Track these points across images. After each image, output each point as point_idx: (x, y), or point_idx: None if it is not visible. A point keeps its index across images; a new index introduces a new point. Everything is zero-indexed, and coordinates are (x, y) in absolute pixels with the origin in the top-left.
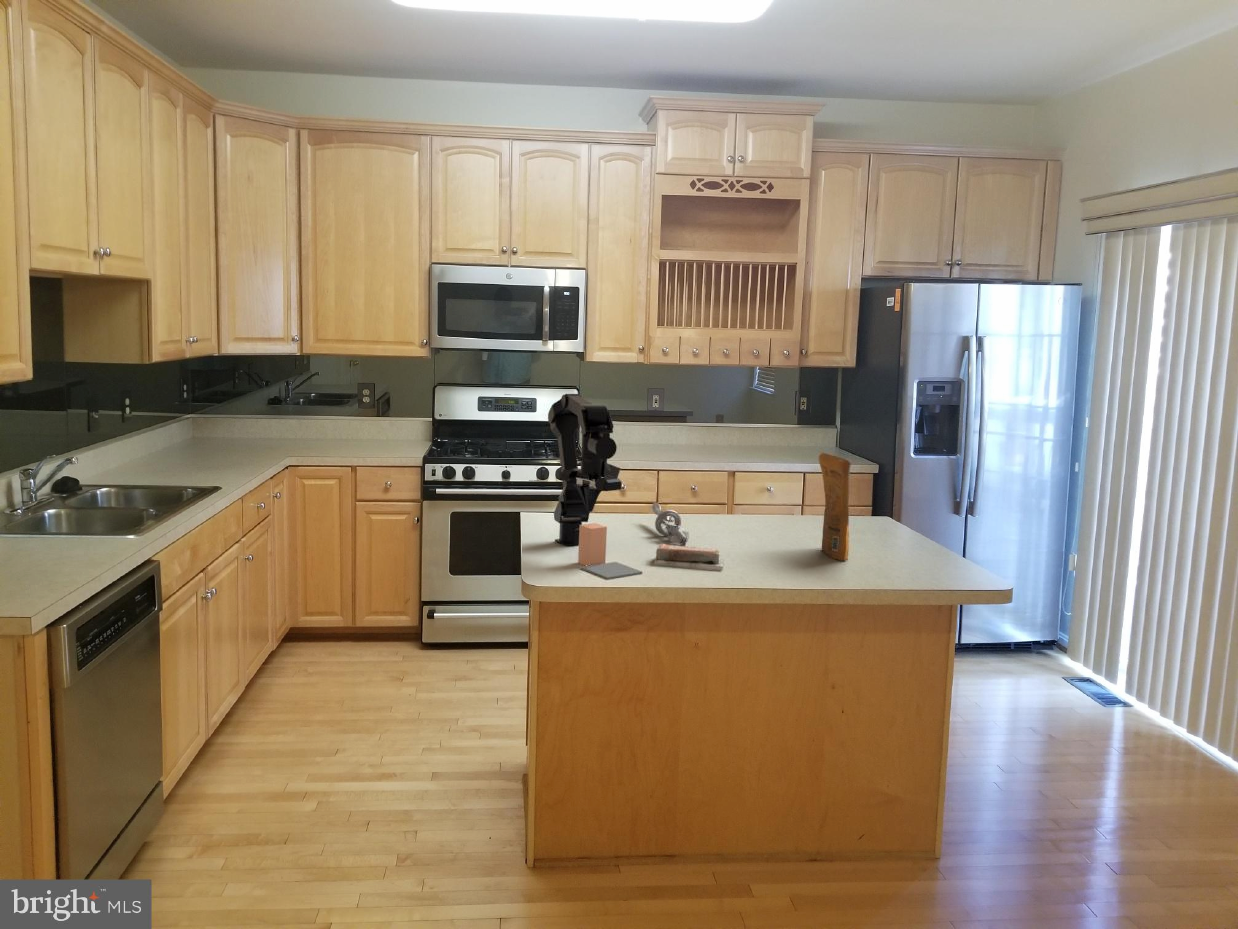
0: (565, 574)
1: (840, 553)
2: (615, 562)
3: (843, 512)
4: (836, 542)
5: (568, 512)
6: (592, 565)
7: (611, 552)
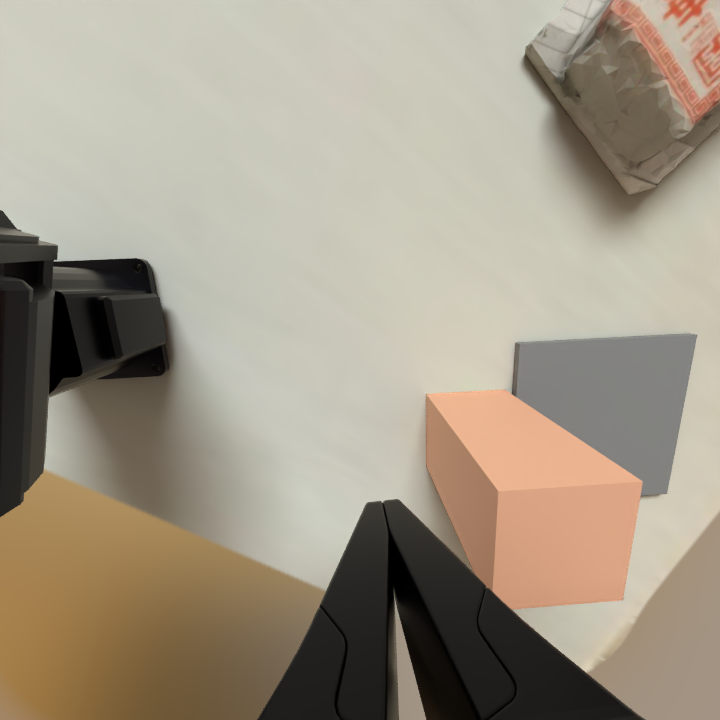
0: None
1: None
2: (529, 352)
3: None
4: None
5: (34, 466)
6: None
7: (347, 240)
